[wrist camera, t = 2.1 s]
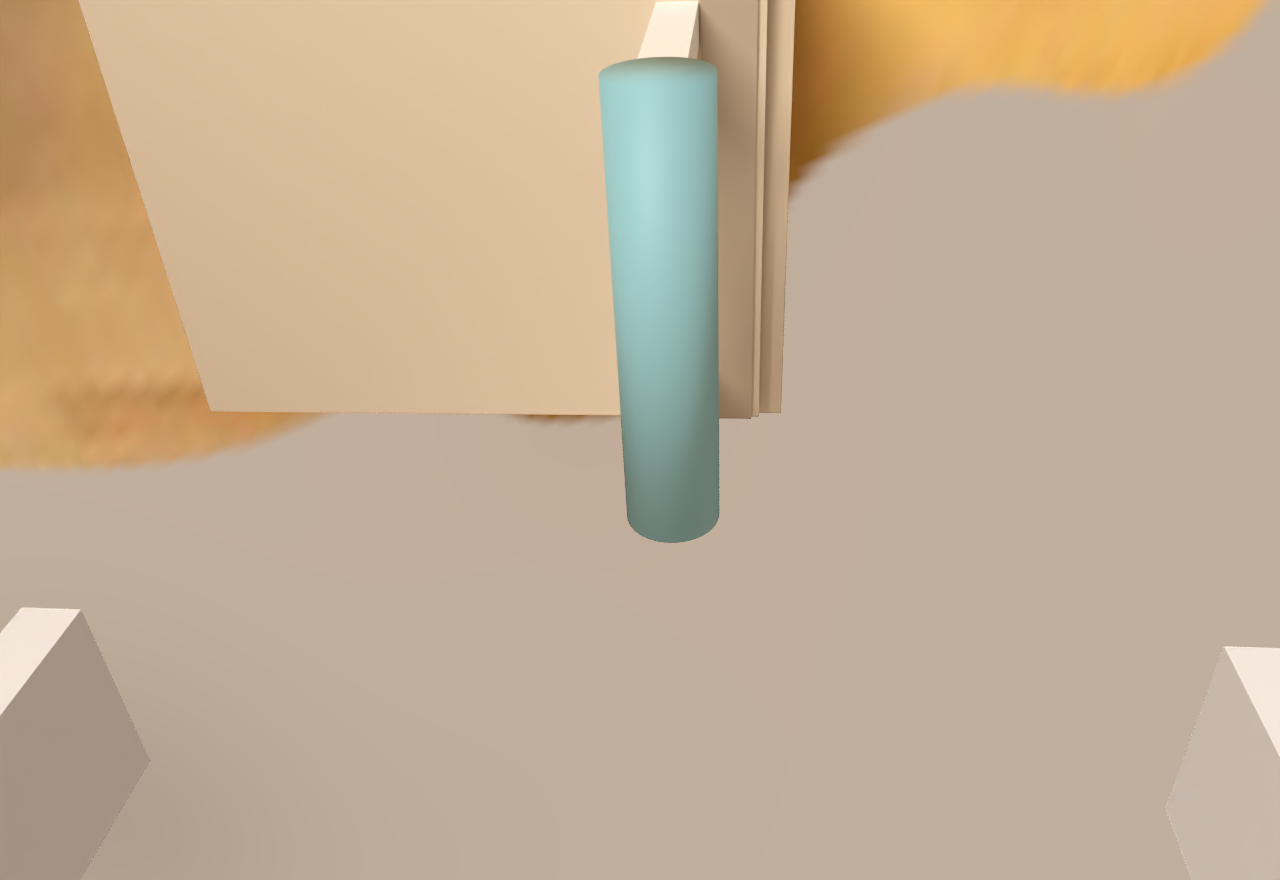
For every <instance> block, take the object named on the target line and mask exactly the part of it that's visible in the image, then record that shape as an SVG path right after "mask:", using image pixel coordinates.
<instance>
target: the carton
mask: <svg viewBox="0 0 1280 880" xmlns="http://www.w3.org/2000/svg"><path fill="white" fill-rule="evenodd" d="M794 24H795V0H768V1H767V48H766V95H765V142H764V189H763V236H762V283H761V330H760V377H759V413H781V392H782V364H783V336H784V335H783V334H784V307H785V279H786V250H787V222H788V220H787V219H788V194H789V166H790V137H791V109H792V81H793V52H794Z"/></svg>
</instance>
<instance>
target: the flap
mask: <svg viewBox="0 0 1280 880" xmlns="http://www.w3.org/2000/svg"><path fill="white" fill-rule="evenodd" d="M78 1H79V4H80V7H81V10H82V13H83V17H84V20H85V23H86V26H87V29H88V32H89V35H90V38H91V41H92V45H93V48H94V51H95V54H96V57H97V60H98V63H99V66H100V69H101V72H102V76H103V79H104V82H105V85H106V88H107V91H108V94H109V97H110V100H111V103H112V107H113V110H114V113H115V116H116V119H117V122H118V125H119V128H120V131H121V135H122V138H123V141H124V144H125V147H126V150H127V153H128V156H129V159H130V162H131V166H132V169H133V172H134V175H135V178H136V181H137V184H138V187H139V190H140V193H141V197H142V200H143V203H144V206H145V209H146V212H147V215H148V218H149V221H150V224H151V228H152V231H153V234H154V237H155V240H156V243H157V246H158V249H159V252H160V256H161V259H162V262H163V265H164V268H165V271H166V274H167V277H168V280H169V283H170V287H171V290H172V293H173V296H174V299H175V302H176V305H177V308H178V311H179V314H180V318H181V321H182V324H183V327H184V330H185V333H186V336H187V339H188V342H189V346H190V349H191V352H192V355H193V358H194V361H195V364H196V367H197V370H198V373H199V377H200V380H201V383H202V386H203V389H204V392H205V395H206V398H207V401H208V404H209V408H210V411H230V412H334V413H439V414H544V415H621V427H622V443H623V458H624V473H625V487H626V504H627V517H628V521H629V524H630V525H631V527H632V528H633V529H634V530H635V531H636V532H637V533H639V534H640V535H642V536H644V537H646V538H648V539H651V540H654V541H659V542H667V543H677V542H684V541H689V540H693V539H696V538H698V537H700V536H702V535H704V534H706V533H707V532H709V531H710V530H711V529H712V528H713V527H714V526H715V524H716V523H717V521H718V518H719V418H748V419H751V416H754V417H755V416H756V417H758V416H759V377H760V330H761V283H762V236H763V189H764V142H765V95H766V48H767V1H768V0H78Z"/></svg>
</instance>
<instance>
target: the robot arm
mask: <svg viewBox="0 0 1280 880" xmlns="http://www.w3.org/2000/svg"><path fill="white" fill-rule="evenodd" d="M149 761H150V760H149V757H148V755H147V753H146V751H145V749H144V746H143V744H142V742H141V740H140V738H139V735H138V733H137V731H136V729H135V727H134V724H133V722H132V720H131V718H130V716H129V714H128V711H127V709H126V707H125V705H124V703H123V700H122V698H121V696H120V694H119V692H118V689H117V687H116V685H115V683H114V681H113V678H112V676H111V674H110V672H109V670H108V668H107V665H106V663H105V661H104V659H103V656H102V654H101V652H100V650H99V648H98V646H97V643H96V641H95V639H94V637H93V635H92V633H91V630H90V628H89V626H88V624H87V622H86V619H85V617H84V615H83V613H82V611H81V609H52V608H51V609H50V608H21V609H20V610H19V611H18V612H17V614H16V615H15V616H14V617H13V619H12V620H11V621H10V622H9V623H8V625H7V626H6V627H5V628H4V629H3V631H2V632H1V633H0V880H80V879H81V878H82V876H83V874H84V873H85V871H86V869H87V867H88V866H89V864H90V862H91V861H92V859H93V857H94V855H95V854H96V852H97V850H98V849H99V847H100V845H101V843H102V842H103V840H104V838H105V837H106V835H107V833H108V831H109V830H110V828H111V826H112V824H113V823H114V821H115V819H116V818H117V816H118V814H119V813H120V811H121V809H122V807H123V806H124V804H125V802H126V800H127V799H128V797H129V795H130V794H131V792H132V790H133V789H134V787H135V785H136V784H137V782H138V780H139V778H140V777H141V775H142V773H143V772H144V770H145V768H146V767H147V765H148V763H149ZM1165 810H1166V812H1167V815H1168V818H1169V820H1170V823H1171V826H1172V828H1173V831H1174V834H1175V836H1176V839H1177V841H1178V844H1179V847H1180V850H1181V852H1182V855H1183V858H1184V860H1185V863H1186V866H1187V868H1188V871H1189V874H1190V876H1191V879H1192V880H1280V648H1257V647H1226V646H1224V648H1223V650H1222V653H1221V656H1220V659H1219V662H1218V664H1217V667H1216V670H1215V673H1214V675H1213V678H1212V681H1211V684H1210V686H1209V689H1208V692H1207V695H1206V698H1205V700H1204V703H1203V706H1202V708H1201V711H1200V714H1199V717H1198V719H1197V722H1196V725H1195V728H1194V731H1193V733H1192V736H1191V739H1190V742H1189V744H1188V747H1187V750H1186V753H1185V755H1184V758H1183V761H1182V763H1181V766H1180V769H1179V772H1178V775H1177V777H1176V780H1175V783H1174V786H1173V788H1172V791H1171V794H1170V797H1169V799H1168V802H1167V805H1166V808H1165Z"/></svg>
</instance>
